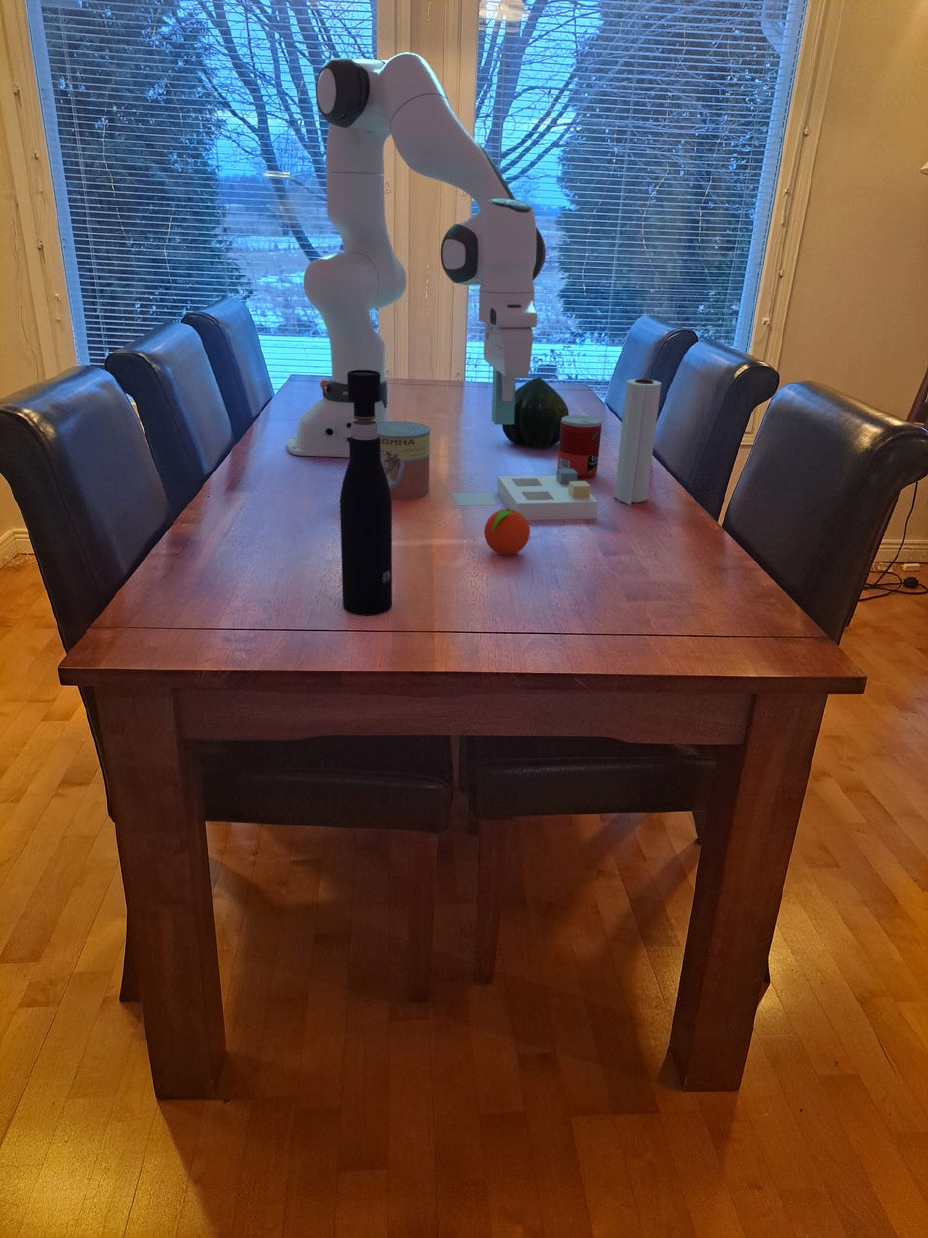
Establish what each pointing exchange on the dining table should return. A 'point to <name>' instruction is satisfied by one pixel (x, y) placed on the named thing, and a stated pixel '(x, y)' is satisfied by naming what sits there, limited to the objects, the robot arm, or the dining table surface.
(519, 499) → the block
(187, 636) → the dining table surface
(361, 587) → the insulated water bottle
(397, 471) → the canned food
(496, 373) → the plug
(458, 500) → the mat
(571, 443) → the canned food
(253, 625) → the dining table surface
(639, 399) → the paper towel roll
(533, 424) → the squash
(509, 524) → the clementine
